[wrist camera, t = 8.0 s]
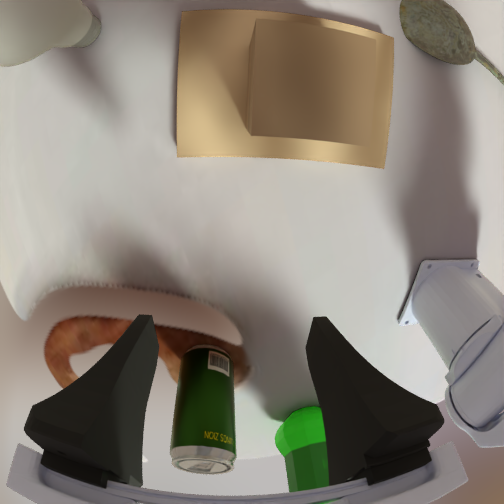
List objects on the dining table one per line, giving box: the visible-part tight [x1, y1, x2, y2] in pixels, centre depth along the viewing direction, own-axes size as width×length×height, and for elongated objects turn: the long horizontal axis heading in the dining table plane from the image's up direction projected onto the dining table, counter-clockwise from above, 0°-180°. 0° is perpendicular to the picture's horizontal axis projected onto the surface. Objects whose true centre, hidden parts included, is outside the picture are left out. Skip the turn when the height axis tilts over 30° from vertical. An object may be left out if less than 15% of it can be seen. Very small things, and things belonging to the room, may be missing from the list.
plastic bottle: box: [275, 406, 336, 504], centre depth 24 cm, size 10×11×25 cm
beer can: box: [170, 344, 236, 474], centre depth 22 cm, size 5×5×12 cm
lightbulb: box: [0, 0, 101, 67], centre depth 8 cm, size 6×6×11 cm
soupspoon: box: [399, 0, 504, 85], centre depth 13 cm, size 22×3×7 cm
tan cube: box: [246, 18, 376, 147], centre depth 12 cm, size 6×6×6 cm
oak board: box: [177, 9, 394, 169], centre depth 15 cm, size 14×10×1 cm
